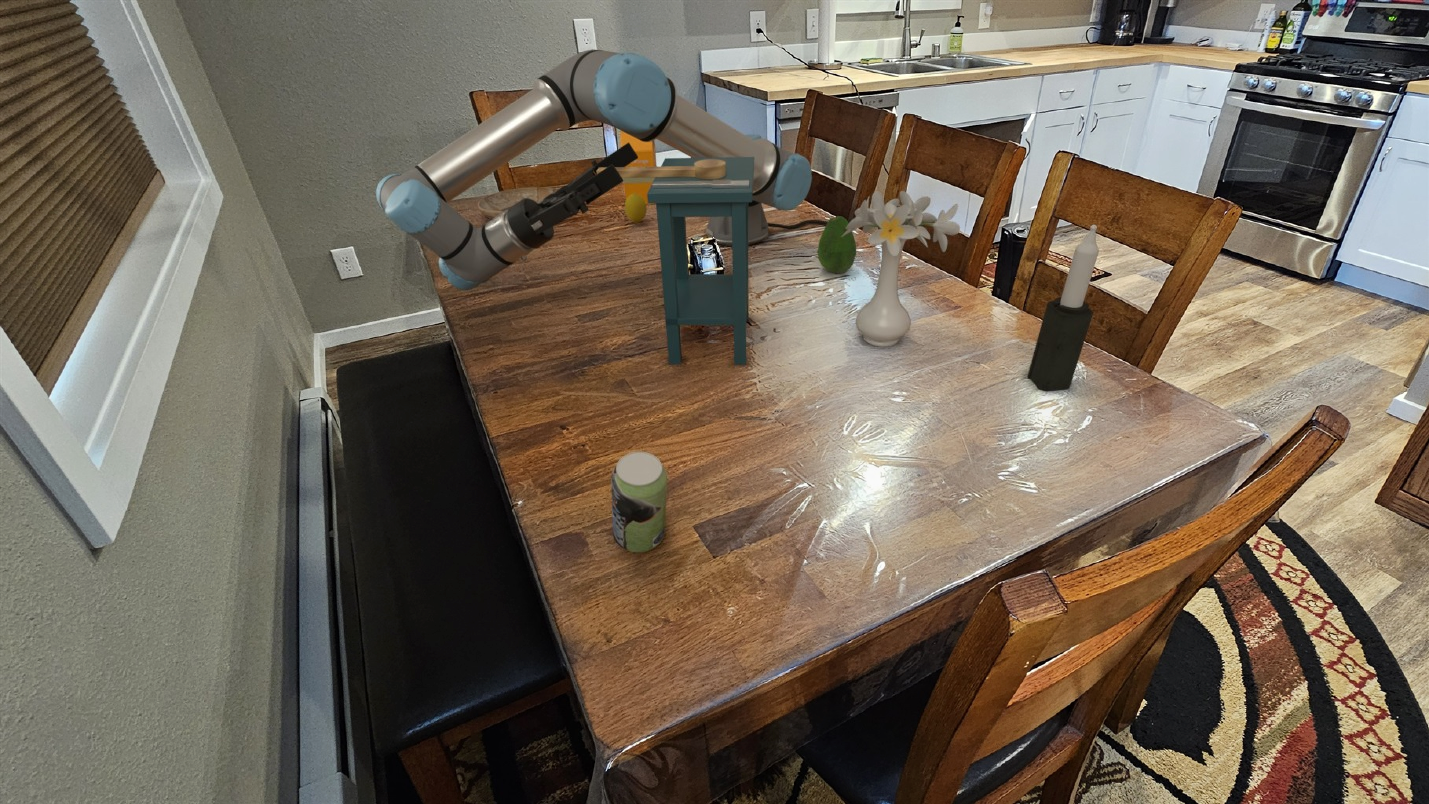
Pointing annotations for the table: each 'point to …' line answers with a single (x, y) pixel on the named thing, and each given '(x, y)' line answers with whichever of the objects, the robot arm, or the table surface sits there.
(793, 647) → the table surface
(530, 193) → the ceramic bowl
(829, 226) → the avocado
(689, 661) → the table surface
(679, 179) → the stand
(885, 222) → the flower vase
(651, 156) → the orange juice
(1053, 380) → the candle
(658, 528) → the beverage can
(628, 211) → the lemon
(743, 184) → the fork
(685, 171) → the wooden spoon
